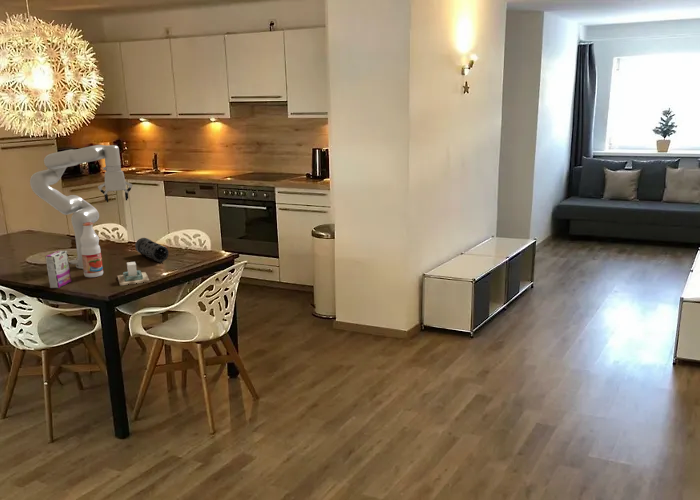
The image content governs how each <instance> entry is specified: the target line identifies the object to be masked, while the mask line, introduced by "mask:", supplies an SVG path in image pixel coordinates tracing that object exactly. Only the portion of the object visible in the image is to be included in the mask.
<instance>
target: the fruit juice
mask: <svg viewBox="0 0 700 500" xmlns="http://www.w3.org/2000/svg"><path fill="white" fill-rule="evenodd" d="M93 225H94V223H92V222H85V223H83V227H84V229H83V234H82V236H81V238H80V242H81V245H82V248H81V254H82V262H83V269H82V270H83V274H84V277H85V278H96V277H97V278H98V277H101V276H103V274H104V268H103V266H104V265H103V257H102V252H101V251H102V250H101V246H100V244H99V242H100V237H99V235H97V233H96V231H95V230H94V227H93Z"/></svg>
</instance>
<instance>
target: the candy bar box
mask: <svg viewBox="0 0 700 500" xmlns="http://www.w3.org/2000/svg"><path fill="white" fill-rule="evenodd" d="M68 257H69V256H68V251H67V250H57V251H55V252H52V253H50V254H48V255H46V256H45V263H46V270H47V275H48V281H49V288H50V289H60V288H62V287H63V286H66V285H68V284H70V283H72V277H71V269H70V262H69V258H68Z"/></svg>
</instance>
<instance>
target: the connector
mask: <svg viewBox="0 0 700 500" xmlns="http://www.w3.org/2000/svg"><path fill="white" fill-rule="evenodd" d="M126 267H127V272H128V276H129V277H130V276H137V271H138V270H137V263H136V261H130V262H129V261H128V262H126Z"/></svg>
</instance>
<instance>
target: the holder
mask: <svg viewBox="0 0 700 500" xmlns="http://www.w3.org/2000/svg"><path fill="white" fill-rule="evenodd" d="M116 276H117V280H118V283H119V286H120V287H121V286H127V285H128V284H129V285H134V284H136V283H137V284H143V282H144V283H150V278H149V275H148V274H147V273H146V271H143V272H142V271H141V270H140V269H139V270H137V276H130V277H129V276H128V271H124V272H122V274H119V275H116ZM137 284H136V285H137ZM129 285H128V286H129Z"/></svg>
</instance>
